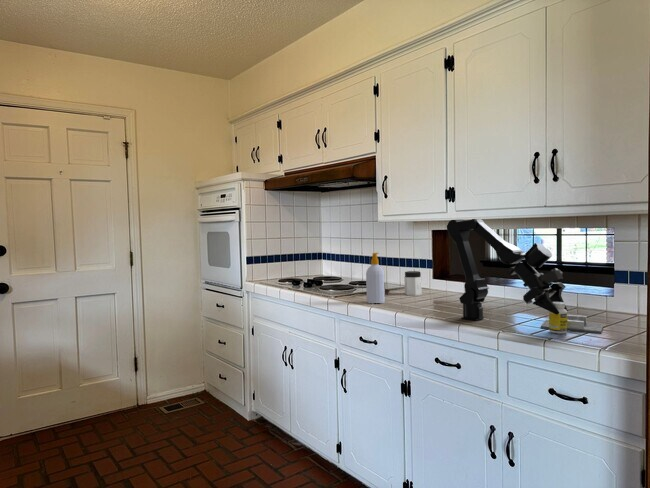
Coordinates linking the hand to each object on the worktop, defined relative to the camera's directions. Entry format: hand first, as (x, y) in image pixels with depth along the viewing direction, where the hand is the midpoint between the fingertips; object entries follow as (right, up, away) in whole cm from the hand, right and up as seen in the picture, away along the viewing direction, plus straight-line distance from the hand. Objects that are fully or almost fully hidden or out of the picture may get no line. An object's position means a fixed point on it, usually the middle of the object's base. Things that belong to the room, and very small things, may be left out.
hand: (562, 312), depth 153 cm
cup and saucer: (-49, -5, +99) cm, 110 cm away
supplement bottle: (-1, -7, +1) cm, 7 cm away
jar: (-32, -4, +92) cm, 98 cm away
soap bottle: (-53, -6, +71) cm, 89 cm away
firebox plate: (+8, -6, +9) cm, 13 cm away
